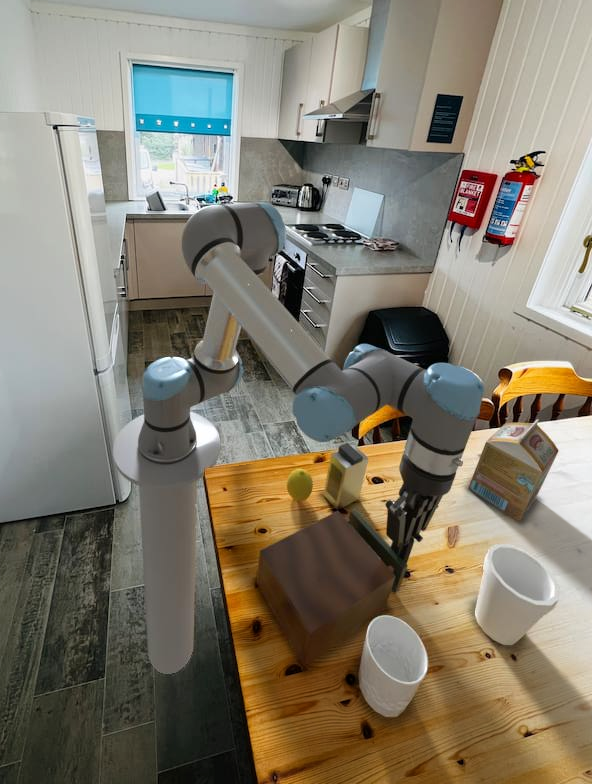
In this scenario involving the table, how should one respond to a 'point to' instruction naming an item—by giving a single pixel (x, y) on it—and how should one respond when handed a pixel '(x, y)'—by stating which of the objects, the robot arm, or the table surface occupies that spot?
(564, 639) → the table surface
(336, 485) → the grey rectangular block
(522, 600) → the foam cup
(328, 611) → the cabinet
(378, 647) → the white cup
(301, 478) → the lemon
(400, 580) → the drawer
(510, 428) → the milk carton
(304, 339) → the robot arm
